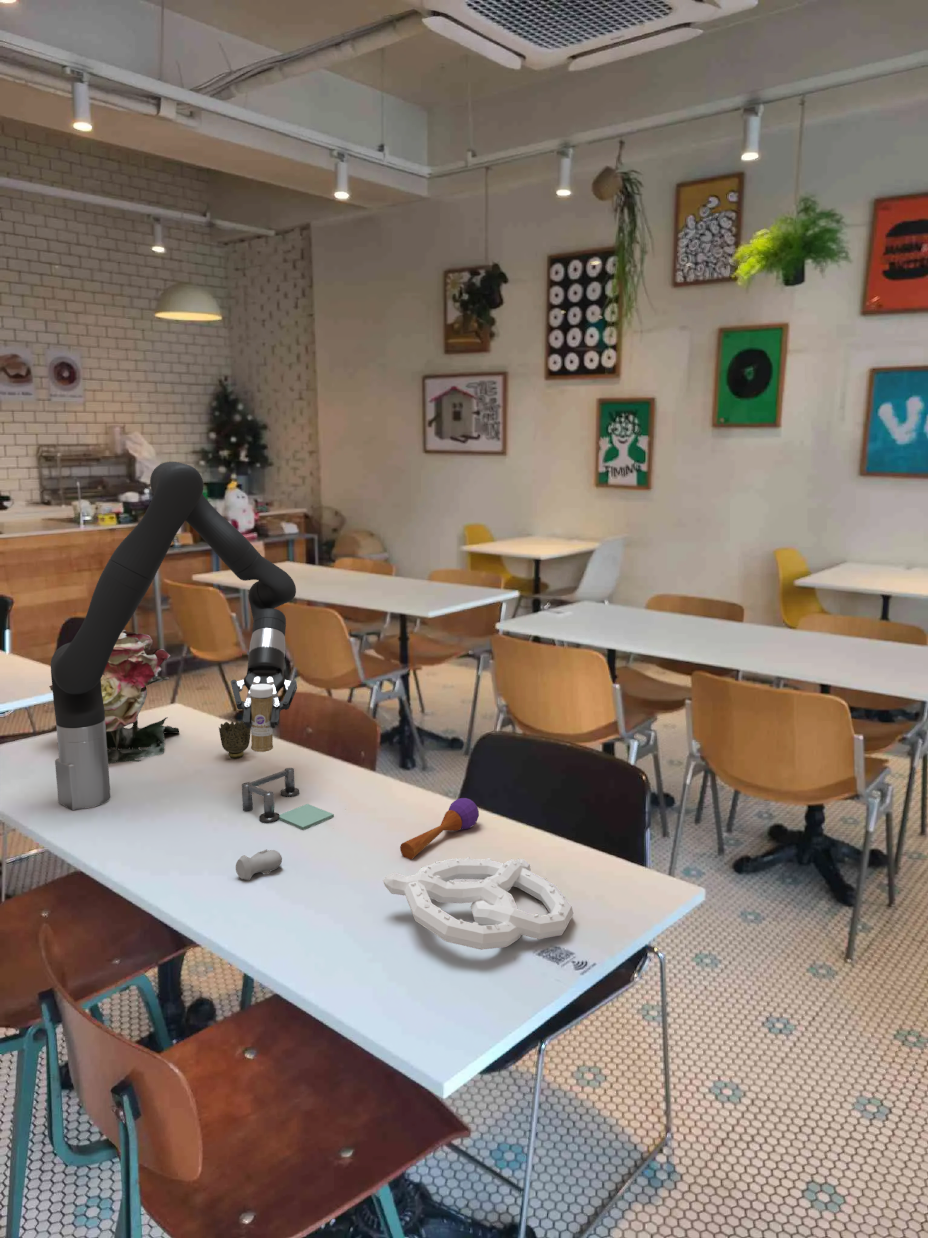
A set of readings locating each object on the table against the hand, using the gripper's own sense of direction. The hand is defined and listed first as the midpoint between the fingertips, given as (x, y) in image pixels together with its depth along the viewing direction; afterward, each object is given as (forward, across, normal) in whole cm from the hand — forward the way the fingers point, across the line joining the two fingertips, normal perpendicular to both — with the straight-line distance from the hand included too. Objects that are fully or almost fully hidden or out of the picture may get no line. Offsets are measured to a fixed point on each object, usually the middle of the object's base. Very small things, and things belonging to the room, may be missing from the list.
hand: (260, 726), depth 178 cm
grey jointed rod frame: (+13, +4, +12) cm, 18 cm away
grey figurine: (+33, +3, -8) cm, 34 cm away
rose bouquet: (-13, -39, +39) cm, 57 cm away
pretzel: (+45, +40, -21) cm, 64 cm away
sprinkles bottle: (+3, 0, +6) cm, 6 cm away
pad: (+17, +9, +8) cm, 21 cm away
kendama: (+25, +36, -1) cm, 44 cm away
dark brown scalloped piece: (-9, -10, +33) cm, 36 cm away
